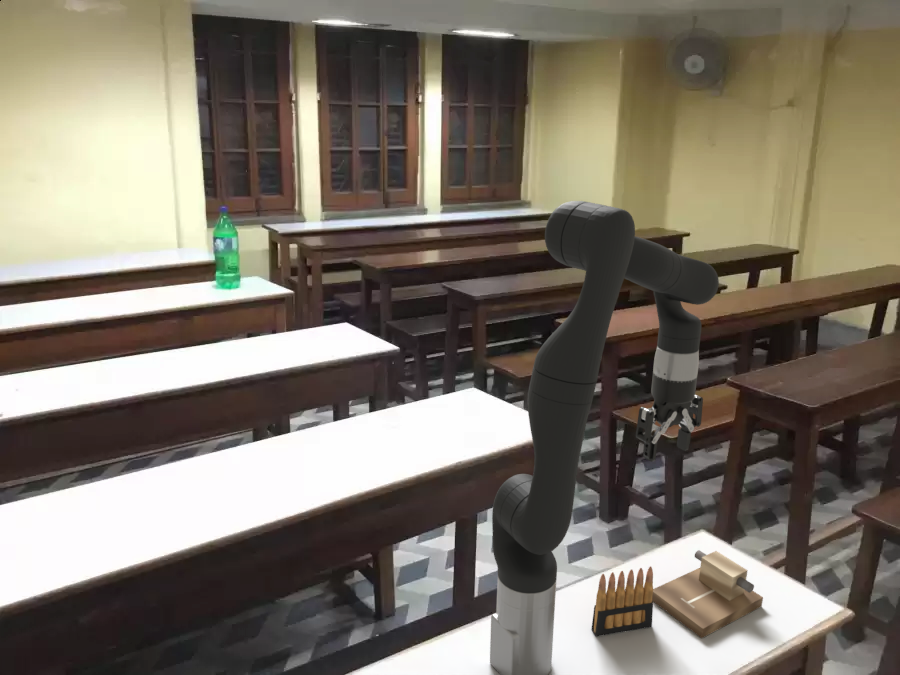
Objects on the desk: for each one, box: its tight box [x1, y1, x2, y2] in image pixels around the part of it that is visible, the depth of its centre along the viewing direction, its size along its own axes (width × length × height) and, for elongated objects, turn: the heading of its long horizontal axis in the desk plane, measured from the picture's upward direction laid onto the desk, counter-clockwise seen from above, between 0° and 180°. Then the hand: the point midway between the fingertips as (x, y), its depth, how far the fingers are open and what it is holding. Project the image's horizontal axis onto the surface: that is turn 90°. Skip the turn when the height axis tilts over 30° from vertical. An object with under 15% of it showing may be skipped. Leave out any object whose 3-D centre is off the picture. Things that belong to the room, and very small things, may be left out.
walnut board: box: [652, 567, 764, 639], centre depth 135 cm, size 16×12×2 cm
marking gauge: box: [694, 549, 755, 601], centre depth 136 cm, size 4×12×5 cm, turn 31°
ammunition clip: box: [591, 565, 654, 637], centre depth 127 cm, size 11×2×12 cm, turn 104°
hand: (666, 454), depth 135 cm, fingers open, 8 cm apart
